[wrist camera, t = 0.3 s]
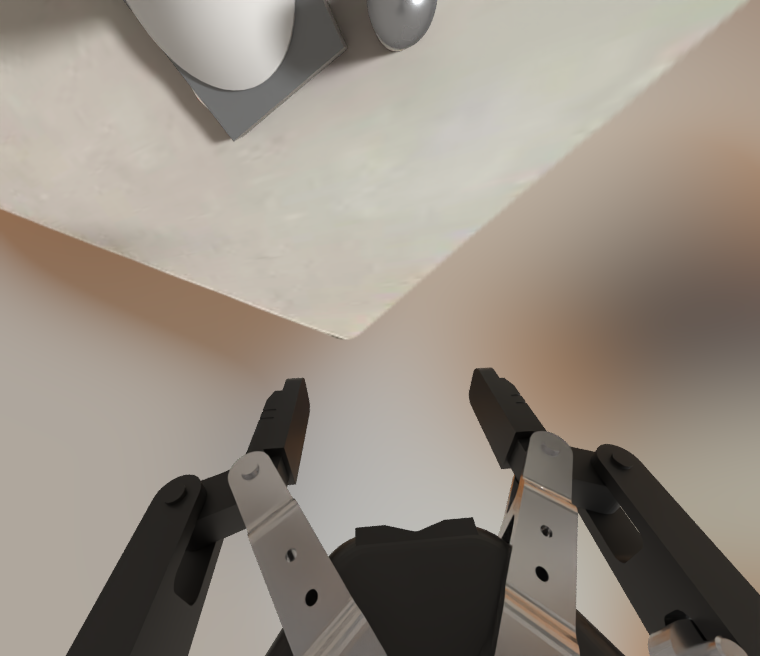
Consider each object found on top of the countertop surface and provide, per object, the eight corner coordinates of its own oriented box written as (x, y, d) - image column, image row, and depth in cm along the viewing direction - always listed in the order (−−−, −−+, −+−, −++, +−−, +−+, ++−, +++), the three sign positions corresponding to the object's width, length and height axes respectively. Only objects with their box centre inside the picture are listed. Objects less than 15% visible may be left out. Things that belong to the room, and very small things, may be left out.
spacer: (363, 0, 23) (353, -25, 16) (410, -42, 22) (421, -90, 14) (387, 63, 26) (387, 64, 19) (430, 30, 24) (447, 18, 17)
